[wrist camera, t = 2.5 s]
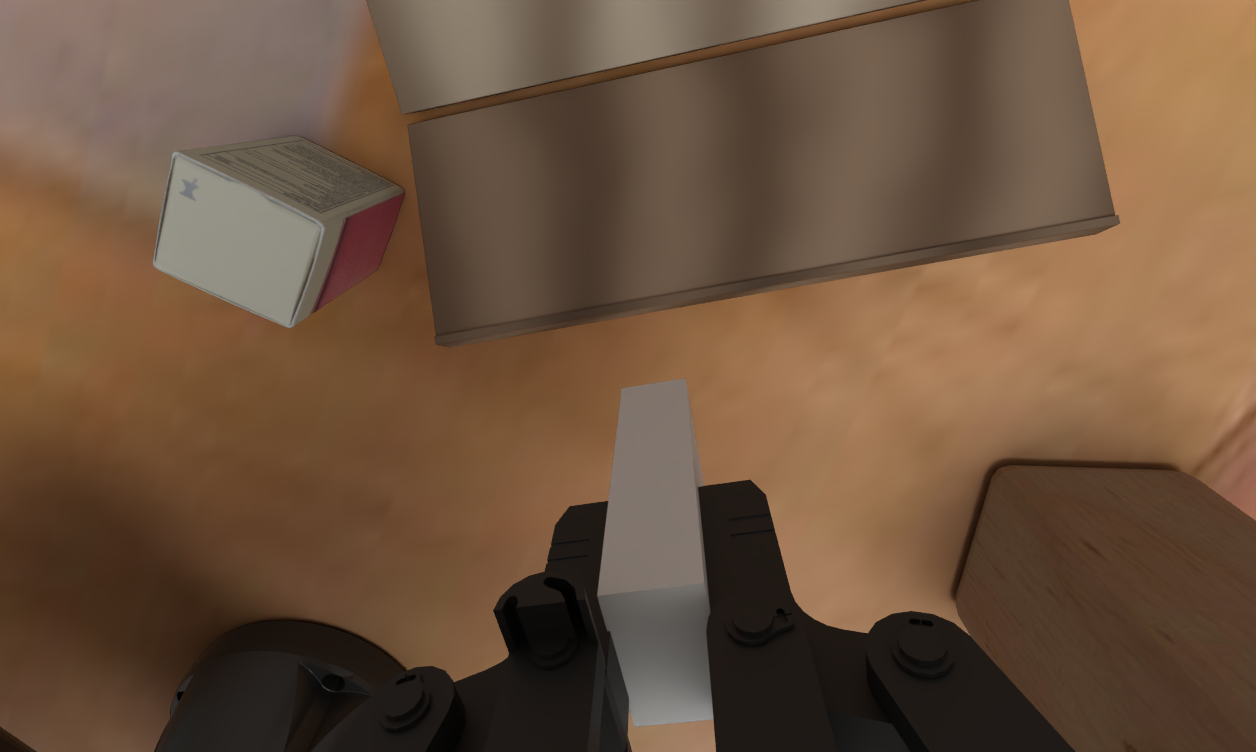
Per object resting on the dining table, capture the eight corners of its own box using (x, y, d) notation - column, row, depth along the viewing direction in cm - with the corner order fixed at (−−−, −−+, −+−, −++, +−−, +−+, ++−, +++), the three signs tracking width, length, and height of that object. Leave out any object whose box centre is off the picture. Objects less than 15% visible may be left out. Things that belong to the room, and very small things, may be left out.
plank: (449, 347, 26) (435, 344, 25) (420, 137, 27) (405, 123, 25) (1096, 234, 23) (1119, 223, 22) (1046, 2, 24) (1067, -22, 22)
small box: (272, 222, 28) (143, 268, 21) (297, 131, 27) (167, 147, 20) (379, 273, 29) (290, 334, 22) (410, 188, 28) (325, 224, 20)
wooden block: (988, 456, 32) (1428, 937, 14) (1189, 462, 32) (1902, 959, 14) (944, 605, 36) (1238, 1125, 18) (1121, 611, 36) (1599, 1145, 18)
